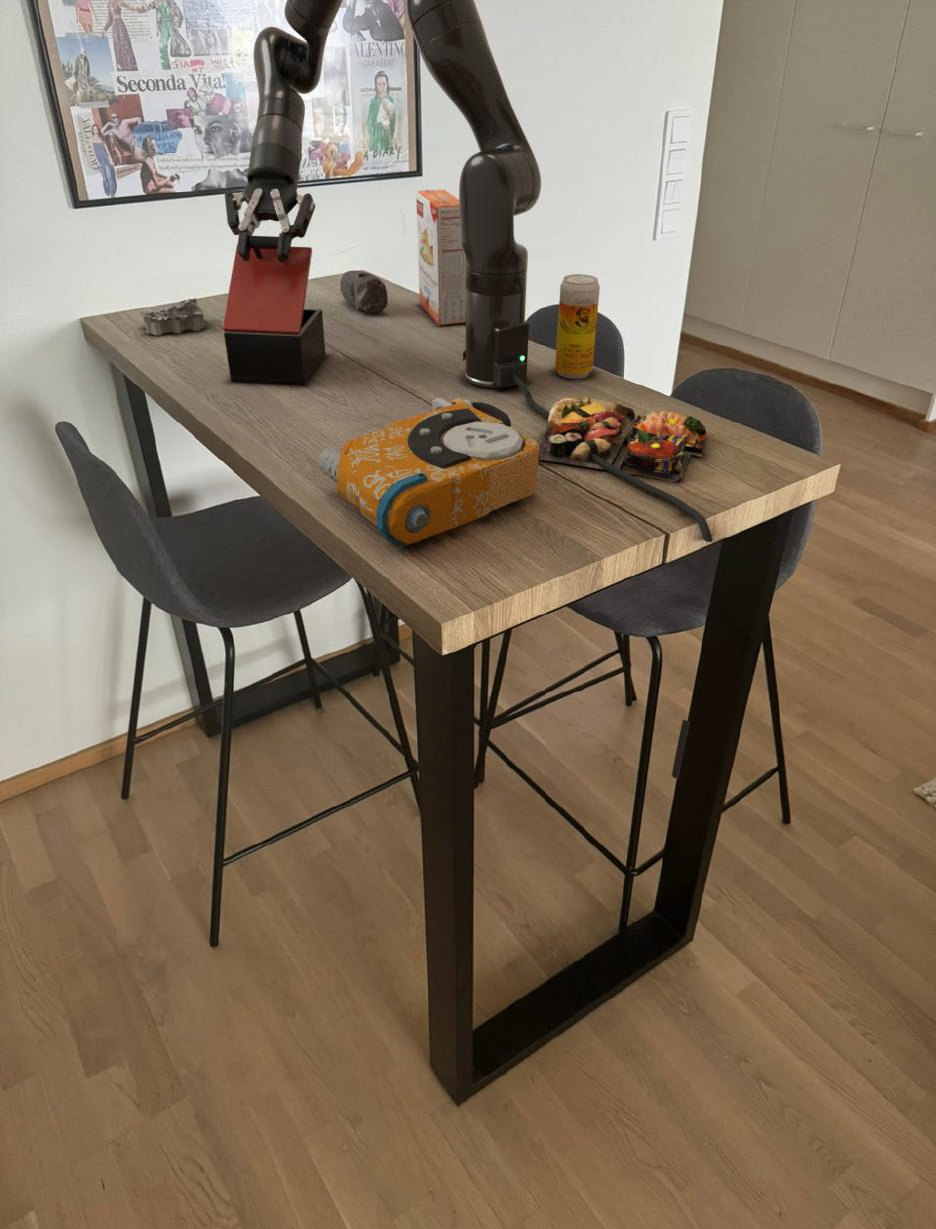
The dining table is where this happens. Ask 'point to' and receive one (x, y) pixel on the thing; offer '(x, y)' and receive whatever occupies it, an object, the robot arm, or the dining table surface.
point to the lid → (267, 289)
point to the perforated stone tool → (364, 291)
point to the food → (622, 437)
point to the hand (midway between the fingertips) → (262, 258)
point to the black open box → (277, 353)
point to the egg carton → (175, 318)
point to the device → (434, 470)
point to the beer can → (577, 325)
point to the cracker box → (441, 257)
